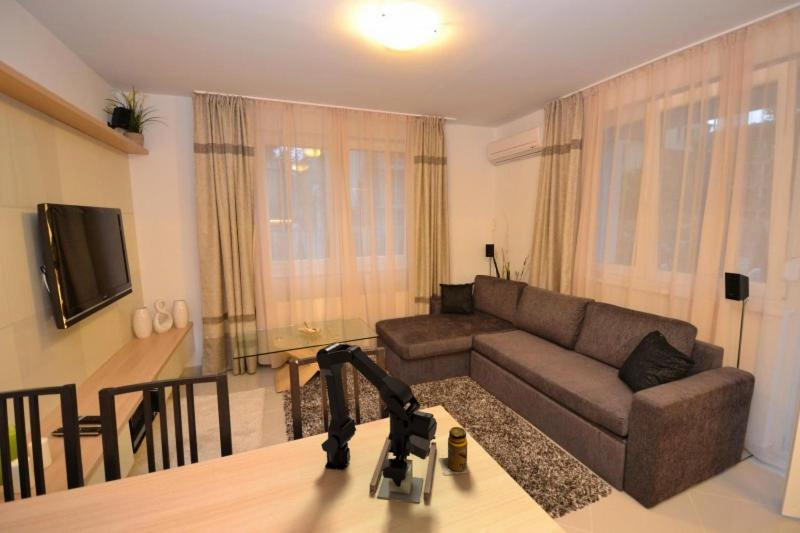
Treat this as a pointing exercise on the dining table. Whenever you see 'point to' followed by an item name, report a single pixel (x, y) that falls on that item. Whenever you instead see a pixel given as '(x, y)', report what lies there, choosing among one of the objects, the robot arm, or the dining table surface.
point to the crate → (404, 483)
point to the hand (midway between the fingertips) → (400, 477)
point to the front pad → (407, 497)
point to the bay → (381, 463)
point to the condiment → (456, 453)
